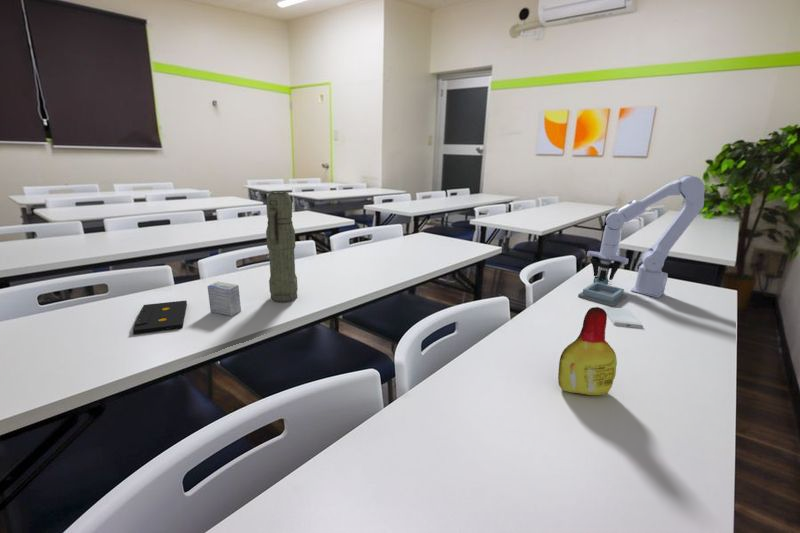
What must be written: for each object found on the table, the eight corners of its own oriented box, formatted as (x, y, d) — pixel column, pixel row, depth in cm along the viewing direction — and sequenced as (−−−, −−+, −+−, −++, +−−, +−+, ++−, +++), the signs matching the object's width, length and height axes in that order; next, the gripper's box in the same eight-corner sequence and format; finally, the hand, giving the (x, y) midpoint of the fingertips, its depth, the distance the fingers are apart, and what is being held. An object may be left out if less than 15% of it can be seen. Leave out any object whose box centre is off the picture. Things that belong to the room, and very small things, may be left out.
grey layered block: (241, 311, 122) (239, 284, 119) (231, 316, 118) (228, 289, 115) (220, 307, 124) (218, 280, 122) (210, 312, 120) (206, 285, 118)
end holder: (626, 297, 146) (628, 289, 145) (613, 306, 136) (615, 298, 135) (592, 288, 154) (593, 280, 153) (578, 296, 144) (579, 289, 143)
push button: (608, 283, 160) (615, 259, 156) (613, 288, 155) (619, 263, 151) (591, 281, 161) (597, 257, 157) (594, 285, 156) (600, 261, 152)
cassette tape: (144, 310, 121) (143, 303, 121) (187, 305, 126) (186, 299, 125) (133, 336, 106) (132, 329, 105) (182, 330, 110) (181, 323, 109)
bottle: (558, 397, 86) (574, 312, 80) (550, 380, 92) (564, 300, 86) (615, 401, 85) (635, 315, 79) (603, 384, 91) (621, 303, 85)
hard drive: (602, 306, 134) (614, 321, 122) (629, 309, 132) (643, 324, 121) (601, 310, 134) (613, 326, 122) (628, 313, 133) (642, 329, 121)
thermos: (264, 303, 128) (256, 193, 117) (276, 290, 139) (270, 189, 129) (292, 305, 128) (286, 195, 117) (302, 291, 139) (297, 190, 129)
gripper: (586, 241, 155) (580, 274, 159) (627, 249, 145) (619, 284, 149) (593, 239, 160) (587, 271, 164) (633, 246, 150) (625, 280, 154)
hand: (603, 277), depth 157 cm, fingers closed on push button, 5 cm apart
